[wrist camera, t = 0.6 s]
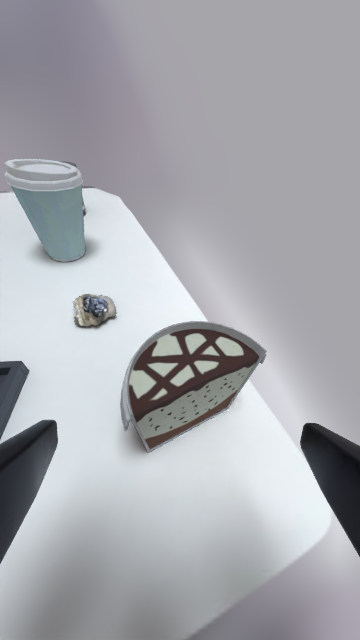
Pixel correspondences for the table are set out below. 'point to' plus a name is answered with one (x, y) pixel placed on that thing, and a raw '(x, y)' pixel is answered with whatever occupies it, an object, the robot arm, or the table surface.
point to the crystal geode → (93, 309)
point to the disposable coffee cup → (51, 204)
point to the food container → (185, 378)
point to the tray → (10, 388)
